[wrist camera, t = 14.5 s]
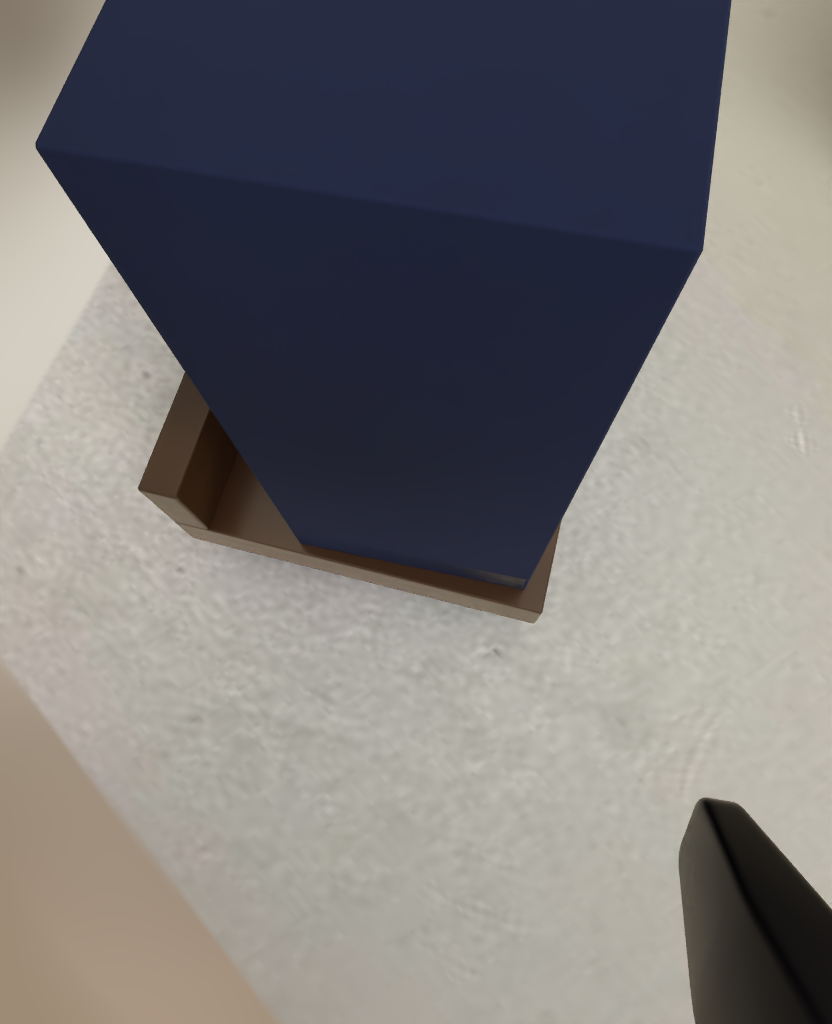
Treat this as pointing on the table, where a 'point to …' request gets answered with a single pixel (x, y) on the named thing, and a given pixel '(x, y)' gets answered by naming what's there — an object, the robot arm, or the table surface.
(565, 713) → the table surface
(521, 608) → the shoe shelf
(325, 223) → the navy blue box
